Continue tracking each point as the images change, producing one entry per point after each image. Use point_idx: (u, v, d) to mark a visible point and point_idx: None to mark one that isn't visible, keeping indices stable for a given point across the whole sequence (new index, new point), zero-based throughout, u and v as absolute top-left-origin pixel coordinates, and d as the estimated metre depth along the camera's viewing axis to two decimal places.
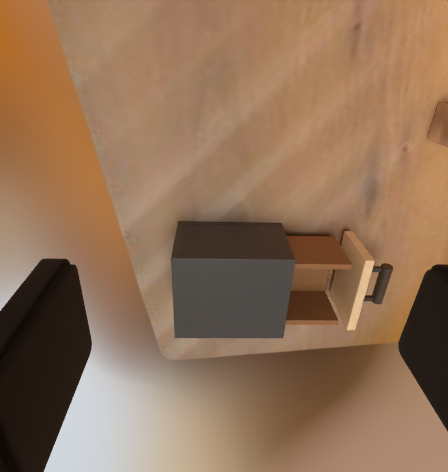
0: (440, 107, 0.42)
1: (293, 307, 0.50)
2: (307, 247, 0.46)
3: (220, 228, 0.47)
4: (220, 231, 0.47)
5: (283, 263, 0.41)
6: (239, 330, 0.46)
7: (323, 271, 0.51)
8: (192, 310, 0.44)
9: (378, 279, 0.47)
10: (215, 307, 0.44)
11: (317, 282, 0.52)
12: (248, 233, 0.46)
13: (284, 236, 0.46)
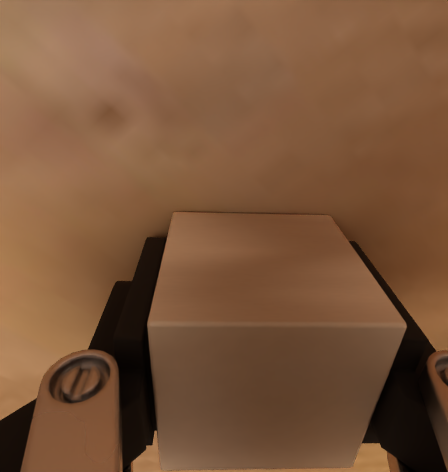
0: (321, 226, 0.09)
1: None
2: None
3: None
4: None
5: None
6: None
7: None
8: None
9: None
10: None
11: None
12: None
13: None
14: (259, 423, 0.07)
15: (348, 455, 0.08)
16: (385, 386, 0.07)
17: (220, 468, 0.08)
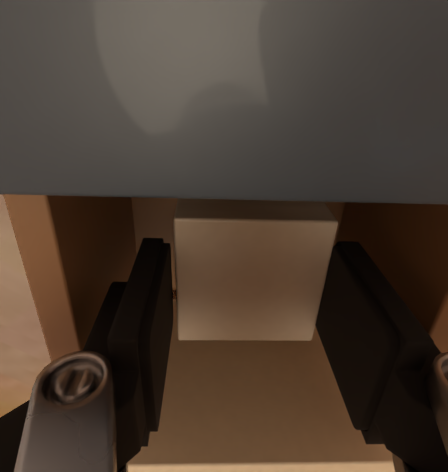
0: None
1: (99, 209, 0.09)
2: None
3: None
4: None
5: None
6: None
7: None
8: None
9: None
10: None
11: None
12: None
13: None
14: (245, 299, 0.10)
15: (308, 328, 0.11)
16: (390, 387, 0.07)
17: (219, 338, 0.11)
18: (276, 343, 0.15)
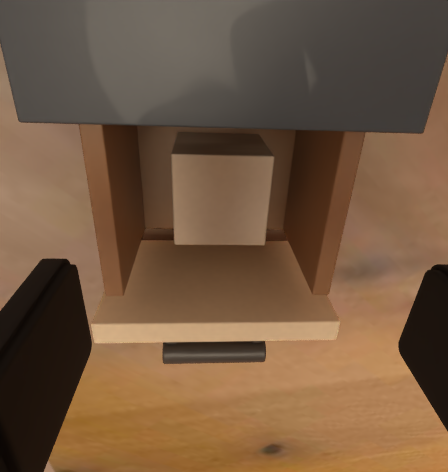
0: (252, 136, 0.18)
1: (123, 151, 0.15)
2: None
3: None
4: None
5: (420, 85, 0.11)
6: None
7: None
8: None
9: (231, 342, 0.20)
10: None
11: (171, 207, 0.20)
12: None
13: None
14: (218, 212, 0.16)
15: (261, 235, 0.16)
16: None
17: (202, 243, 0.16)
18: (246, 264, 0.20)
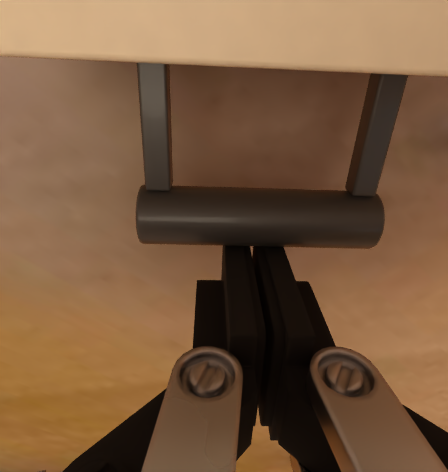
0: None
1: None
2: None
3: None
4: None
5: None
6: None
7: None
8: None
9: (301, 194, 0.09)
10: None
11: None
12: None
13: None
14: None
15: None
16: (281, 383, 0.07)
17: None
18: None
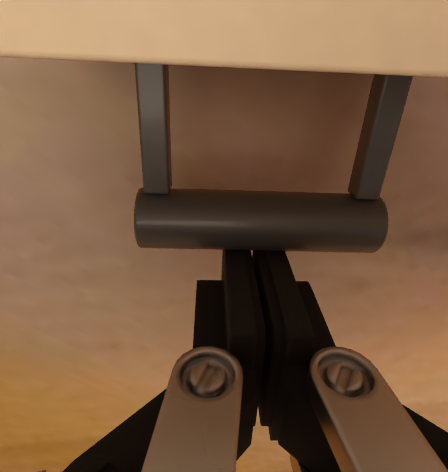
0: None
1: None
2: None
3: None
4: None
5: None
6: None
7: None
8: None
9: (302, 197, 0.08)
10: None
11: None
12: None
13: None
14: None
15: None
16: (281, 383, 0.07)
17: None
18: None
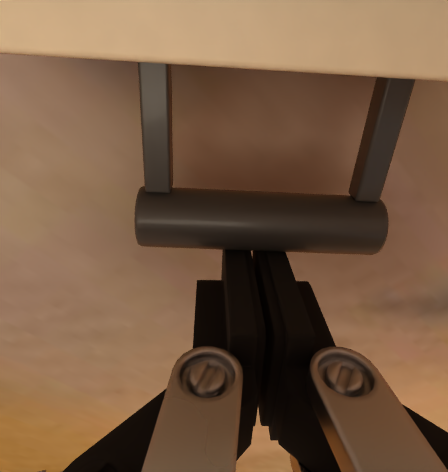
0: None
1: None
2: None
3: None
4: None
5: None
6: None
7: None
8: None
9: (303, 198, 0.08)
10: None
11: None
12: None
13: None
14: None
15: None
16: (281, 383, 0.07)
17: None
18: None
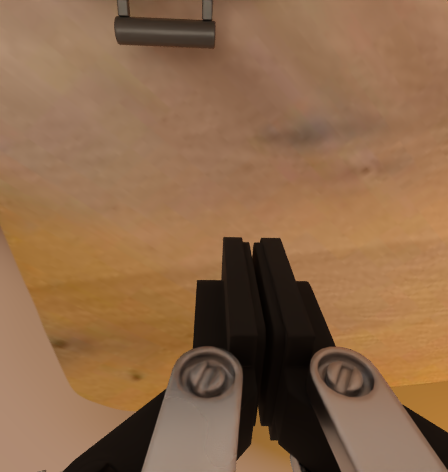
0: None
1: None
2: None
3: None
4: None
5: None
6: None
7: None
8: None
9: (182, 19, 0.21)
10: None
11: None
12: None
13: None
14: None
15: None
16: (281, 383, 0.07)
17: None
18: None
